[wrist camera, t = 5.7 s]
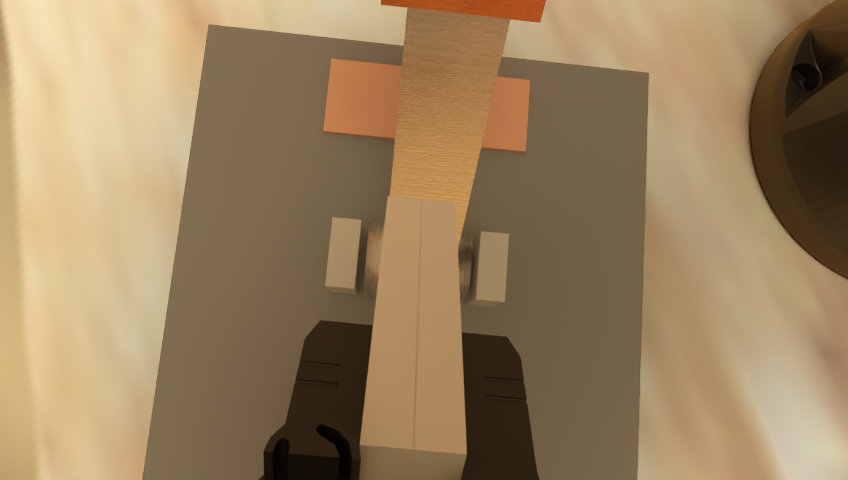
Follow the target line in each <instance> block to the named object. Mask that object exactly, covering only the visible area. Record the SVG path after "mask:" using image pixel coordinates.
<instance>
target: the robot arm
mask: <svg viewBox="0 0 848 480" xmlns="http://www.w3.org/2000/svg"><path fill="white" fill-rule="evenodd" d="M751 144H752V152H753V157H754V162H755V166H756V170H757V173H758V176H759V179H760V182H761V185H762V187H763V189H764V192H765V194H766V196H767V198H768V200H769V202H770V204H771V206H772V208H773V209H774V211H775V213H776V214H777V216H778V217H779V219H780V220H781V222H782V223H783V225H784V226H785V227H786V228H787V230H788V231H789V232H790V233H791V235H792V236H793V237H794V238H795V239H796V240H797V241H798V242H799V243H800V244H801V245H802V246H803V247H804V248H805V249H806V250H807V251H808V252H809V253H810V254H811V255H813V256H814V257H815V258H816V259H817V260H819V261H820V262H822V263H823V264H824V265H826V266H827V267H829V268H830V269H832V270H833V271H835V272H836V273H838V274H840V275H842V276H844V277H846V278H848V0H835V1H833V2H831V3H830V4H828V5H827V6H825V7H824V8H823V9H821V10H820V11H819V12H817V13H816V14H815V15H813V16H812V17H811V18H809V19H808V20H807V21H805V22H804V23H803V24H801V25H800V26H799V27H797V28H796V29H795V30H794V31H793V32H791V33H790V34H789V35H788V36H787V37H786V38H785V39H784V40H783V41H782V42H781V44H780V45H779V46H778V47H777V49H776V50H775V51H774V53H773V54H772V56H771V57H770V59H769V60H768V62H767V64H766V66H765V68H764V70H763V72H762V74H761V76H760V79H759V82H758V84H757V87H756V91H755V95H754V99H753V104H752V112H751ZM526 399H527V397H526V390H525V384H524V376H523V369H522V362H521V357H520V355H519V354H518V352H517V351H516V349H515V348H514V346H513V345H512V343H511V342H510V340H509V339H508V337H505V336H495V335H485V334H475V333H464V332H461V310H460V287H459V265H458V242H457V219H456V203H449V202H440V201H431V200H421V199H412V198H403V197H394V196H388V198H387V207H386V215H385V224H384V233H383V242H382V251H381V260H380V269H379V278H378V287H377V295H376V304H375V313H374V322H373V325H366V324H355V323H345V322H335V321H324V320H320V321H319V322H318V323H317V325H316V326H315V327H314V328H313V329H312V331H311V332H310V333H309V334H308V335H307V336H306V338H305V340H304V344H303V348H302V353H301V357H300V363H299V366H298V370H297V374H296V379H295V383H294V388H293V392H292V396H291V401H290V405H289V409H288V414H287V418H286V423H285V425H283V426H282V427H281V428H280V429H279V430H277V431H276V432H275V433H274V434H273V435H272V436H271V437H270V439H269V441H268V443H267V445H266V447H265V449H264V451H263V458H264V475H263V476H262V477H260V478H259V479H258V480H539V476H538V472H537V467H536V460H535V453H534V446H533V439H532V432H531V425H530V418H529V411H528V404H527V403H526Z"/></svg>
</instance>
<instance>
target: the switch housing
mask: <svg viewBox="0 0 848 480" xmlns="http://www.w3.org/2000/svg"><path fill="white" fill-rule="evenodd" d="M403 50H404V46H399V45H390V44H381V43H372V42H363V41H354V40H345V39H336V38H327V37H318V36H309V35H300V34H290V33H281V32H272V31H263V30H254V29H245V28H236V27H227V26H218V25H209V26H208V33H207V40H206V47H205V54H204V61H203V67H202V74H201V81H200V88H199V95H198V102H197V109H196V115H195V122H194V129H193V136H192V143H191V150H190V157H189V164H188V170H187V177H186V184H185V191H184V198H183V205H182V212H181V219H180V225H179V232H178V239H177V246H176V253H175V260H174V267H173V273H172V280H171V287H170V294H169V301H168V308H167V315H166V322H165V328H164V335H163V342H162V349H161V356H160V363H159V370H158V377H157V383H156V390H155V397H154V404H153V411H152V418H151V425H150V431H149V438H148V445H147V452H146V459H145V466H144V473H143V480H258V479H259V478H260V477H262V476H263V475H264V458H263V451H264V449H265V447H266V445H267V443H268V441H269V439H270V437H271V436H272V435H273V434H274V433H275V432H276V431H277V430H279V429H280V428H281V427H282V426H283V425H285V423H286V418H287V414H288V409H289V405H290V401H291V396H292V392H293V388H294V383H295V379H296V374H297V370H298V366H299V363H300V357H301V353H302V348H303V344H304V340H305V338H306V336H307V335H308V334H309V333H310V332H311V331H312V329H313V328H314V327H315V326H316V325H317V323H318V322H319V321H320V320H324V321H335V322H345V323H355V324H366V325H373V322H374V313H375V304H376V296H375V295H364V294H363V289H364V275H365V264H366V253H367V243H368V234H369V226H370V222H375V223H385V215H386V207H387V198H388V196H390V187H391V176H392V166H393V155H394V145H395V134H396V124H397V113H398V103H399V92H400V82H401V71H402V60H403ZM648 82H649V73H644V72H635V71H626V70H617V69H608V68H599V67H590V66H581V65H572V64H563V63H553V62H544V61H535V60H526V59H517V58H508V57H501V61H500V66H499V70H498V75H497V79H496V84H495V88H494V92H493V97H492V101H491V106H490V110H489V115H488V119H487V123H486V128H485V132H484V137H483V141H482V146H481V150H480V154H479V159H478V163H477V168H476V172H475V177H474V181H473V185H472V190H471V194H470V199H469V203H468V208H467V212H466V216H465V221H464V225H463V230H462V231H470V232H471V235H472V265H471V275H470V283H469V289H468V294H467V298H466V301H465V303H460V310H461V332H464V333H475V334H485V335H495V336H505V337H508V339H509V340H510V342H511V343H512V345H513V346H514V348H515V349H516V351H517V352H518V354H519V355H520V357H521V362H522V369H523V376H524V384H525V390H526V397H527V399H526V403H527V404H528V411H529V418H530V425H531V432H532V439H533V446H534V453H535V460H536V467H537V472H538V476H539V480H637V466H638V431H639V396H640V361H641V326H642V291H643V256H644V221H645V186H646V151H647V116H648Z"/></svg>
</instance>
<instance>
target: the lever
mask: <svg viewBox="0 0 848 480" xmlns="http://www.w3.org/2000/svg"><path fill="white" fill-rule="evenodd" d="M545 2H546V0H381V4H382V5H391V6H399V7H408V8H407V18H406V29H405V39H404V50H403V60H402V71H401V82H400V92H399V103H398V113H397V124H396V134H395V145H394V155H393V166H392V176H391V187H390V196H394V197H403V198H412V199H421V200H431V201H440V202H449V203H456V219H457V242H458V265H459V287H460V303H465V301H466V298H467V294H468V289H469V283H470V275H471V265H472V235H471V232H470V231H462V230H463V225H464V221H465V216H466V212H467V208H468V203H469V199H470V194H471V190H472V185H473V181H474V177H475V172H476V168H477V163H478V159H479V154H480V150H481V146H482V141H483V137H484V132H485V128H486V123H487V119H488V115H489V110H490V106H491V101H492V97H493V92H494V88H495V84H496V79H497V75H498V70H499V66H500V61H501V57H502V52H503V48H504V44H505V39H506V35H507V30H508V26H509V21H510V19H514V20H523V21H531V22H540V21H541V17H542V13H543V9H544V5H545ZM384 224H385V223H375V222H370V226H369V234H368V243H367V253H366V264H365V275H364V289H363V294H364V295H375V296H376V295H377V287H378V278H379V269H380V260H381V251H382V242H383V233H384Z"/></svg>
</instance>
